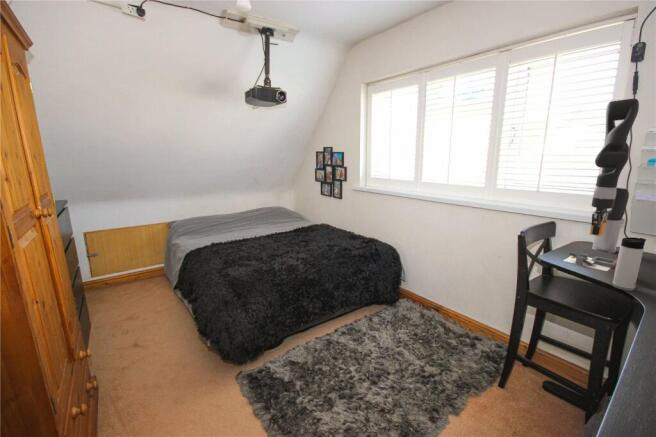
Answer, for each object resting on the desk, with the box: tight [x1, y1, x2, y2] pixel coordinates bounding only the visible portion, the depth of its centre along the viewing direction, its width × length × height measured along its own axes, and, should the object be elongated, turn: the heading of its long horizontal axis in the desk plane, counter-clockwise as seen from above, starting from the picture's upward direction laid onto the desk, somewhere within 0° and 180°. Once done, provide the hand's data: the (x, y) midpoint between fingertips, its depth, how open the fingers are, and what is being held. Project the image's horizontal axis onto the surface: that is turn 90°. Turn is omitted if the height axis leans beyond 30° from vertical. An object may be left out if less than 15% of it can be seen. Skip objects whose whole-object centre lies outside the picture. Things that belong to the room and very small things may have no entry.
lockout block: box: [589, 222, 606, 236], centre depth 142 cm, size 4×4×6 cm
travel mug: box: [612, 236, 647, 292], centre depth 118 cm, size 6×7×20 cm
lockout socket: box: [591, 256, 617, 269], centre depth 142 cm, size 8×8×2 cm
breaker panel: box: [562, 255, 611, 272], centre depth 144 cm, size 15×16×2 cm
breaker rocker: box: [569, 250, 595, 266], centre depth 143 cm, size 4×9×1 cm, turn 36°
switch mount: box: [575, 253, 589, 266], centre depth 143 cm, size 6×2×3 cm, turn 126°
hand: (596, 233), depth 143 cm, fingers closed on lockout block, 4 cm apart
